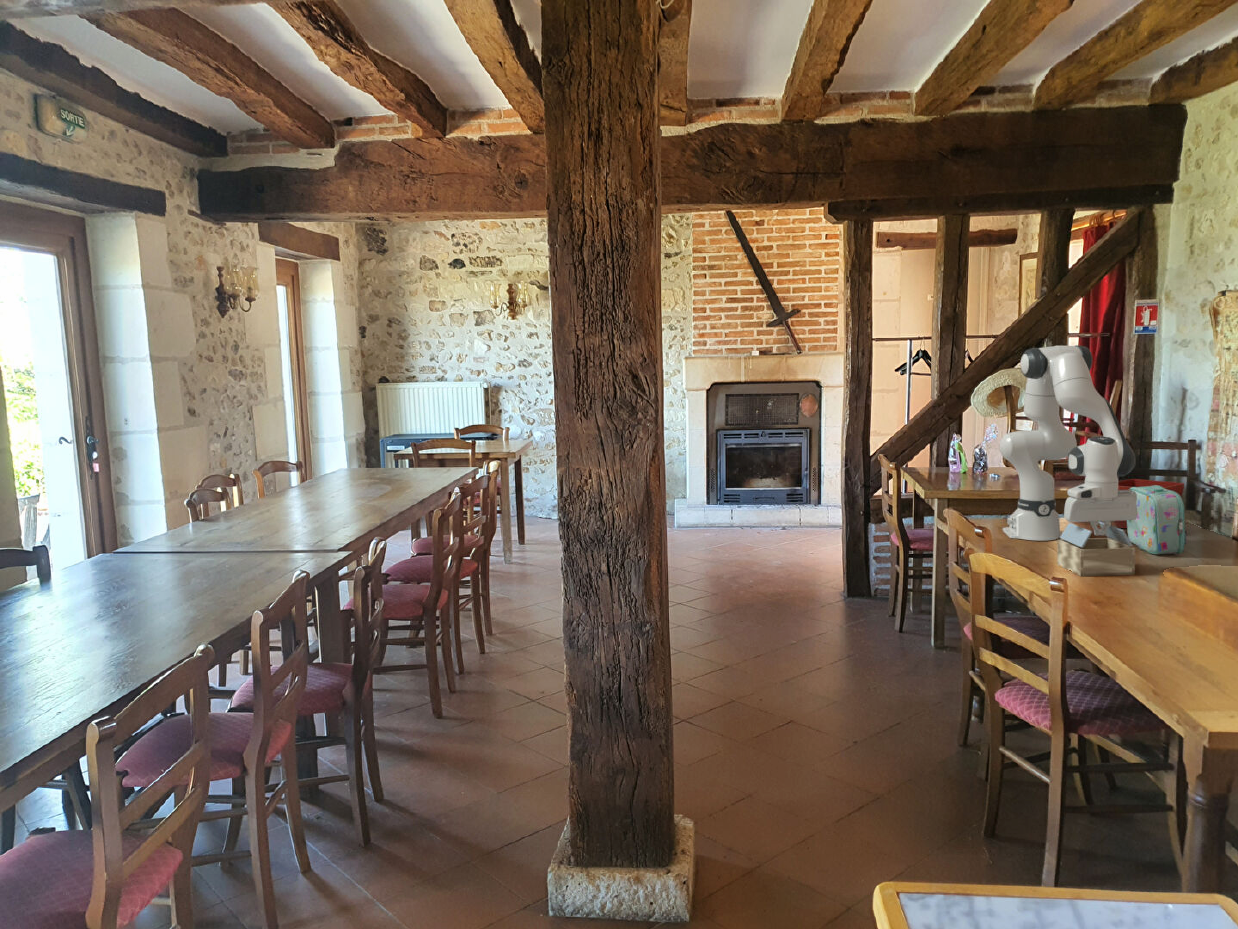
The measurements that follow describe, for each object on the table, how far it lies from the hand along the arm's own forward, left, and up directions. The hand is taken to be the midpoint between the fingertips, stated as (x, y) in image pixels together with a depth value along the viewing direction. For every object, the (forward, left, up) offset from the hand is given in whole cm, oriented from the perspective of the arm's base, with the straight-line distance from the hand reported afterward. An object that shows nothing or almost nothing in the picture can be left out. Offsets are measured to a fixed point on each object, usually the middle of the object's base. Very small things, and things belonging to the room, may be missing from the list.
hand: (1100, 535), depth 253 cm
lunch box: (-23, +29, -11) cm, 39 cm away
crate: (0, -2, -11) cm, 11 cm away
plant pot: (-56, +43, -11) cm, 72 cm away
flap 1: (0, -9, -2) cm, 9 cm away
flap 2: (0, +6, -2) cm, 6 cm away
